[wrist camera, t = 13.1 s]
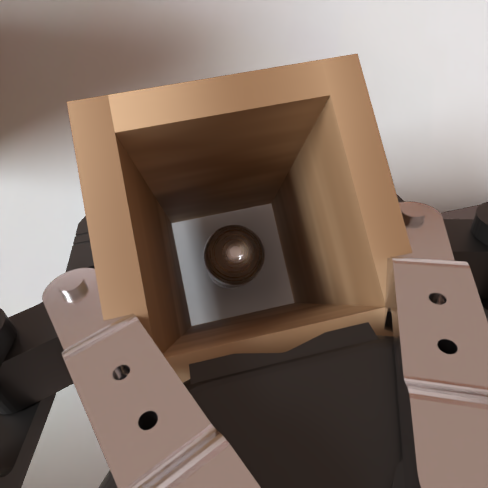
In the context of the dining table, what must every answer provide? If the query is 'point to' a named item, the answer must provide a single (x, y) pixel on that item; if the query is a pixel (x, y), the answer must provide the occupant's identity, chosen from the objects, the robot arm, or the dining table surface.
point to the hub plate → (231, 301)
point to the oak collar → (241, 200)
